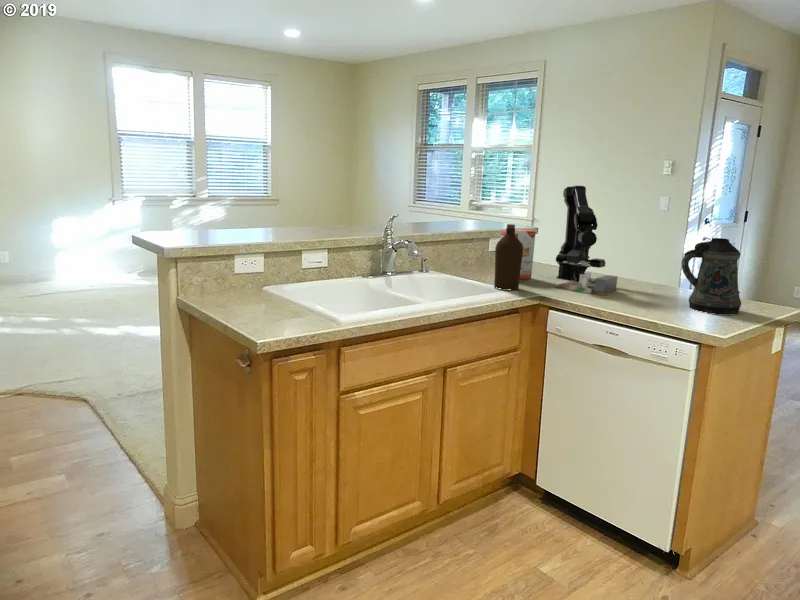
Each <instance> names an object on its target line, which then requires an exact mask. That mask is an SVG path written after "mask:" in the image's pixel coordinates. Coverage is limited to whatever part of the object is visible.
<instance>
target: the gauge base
mask: <svg viewBox="0 0 800 600" xmlns="http://www.w3.org/2000/svg"><path fill="white" fill-rule="evenodd" d="M594 286H595V284H591V283H590V285H588V288H585V287H579V282H577V281H566V282H561V283H558V284H555V285H554V289H559V290H560V289H561V290H567V291H571V292H575V293H580V294H581V293H582V294H587V295H596V296H597V295H598V296H606V295H609V293H610V294H612V292H613V293H616V292H617V291H618V288H616V289H614V290H611V291H608V292H605V293H602V292H596V291H594ZM615 291H616V292H615Z"/></svg>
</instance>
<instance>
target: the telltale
mask: <svg viewBox="0 0 800 600" xmlns="http://www.w3.org/2000/svg"><path fill="white" fill-rule="evenodd" d="M588 282H589V278H583V281H582V287H585V288H588Z"/></svg>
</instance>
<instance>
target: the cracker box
mask: <svg viewBox="0 0 800 600" xmlns="http://www.w3.org/2000/svg"><path fill="white" fill-rule="evenodd" d="M536 232H537V231H535V230H532V229H515V236H516V237H517V238H518V240H519V241H520V242H521V244H522V246H523V255H522V263H521V270H520V278H519V280H531V279H532V271H533V264H534V263H533V262H534V254H535V253H534V252H535V243H536V242H535V241H536ZM505 235H506V228H505V229H500V235H499V236H500V237H499V241H500V240H501V239H502V238H503V237H504V236H505Z"/></svg>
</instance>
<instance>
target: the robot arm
mask: <svg viewBox="0 0 800 600" xmlns="http://www.w3.org/2000/svg"><path fill="white" fill-rule="evenodd" d="M586 193H587V188H586V186H584V185H573V186H567V187H565V188H564V190H563V193H562V195H563V198H564V199H563V200H564V201H563V202H564V204H565V205H566V207H567V209H566V210H567V211H566V213H567V214H566V226H565V227H566V228H565V240H564V242H563V244H562V245H561V246H560V250H559V252H558V254H557V255H556V257H555V262H556V263H557V265H558V275H557V276H556V279H562V280H574V279H575V282H578V283H579V279H580V274H582V273H586V271H587V269H588V268H599V269H600V268H605V267H606V260H605V259H604V258H591V259H590V256H589V252H590V249H591V247H592V246H594V245H595V244H596V243H597V241H598V240H597V239H598V238H597V234H596V233H595V232H593V231H596V230H597V228H598V220H597V217H596V214H595V212H594V209H592V208H591V207H589V204H588V199H587V194H586Z"/></svg>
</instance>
